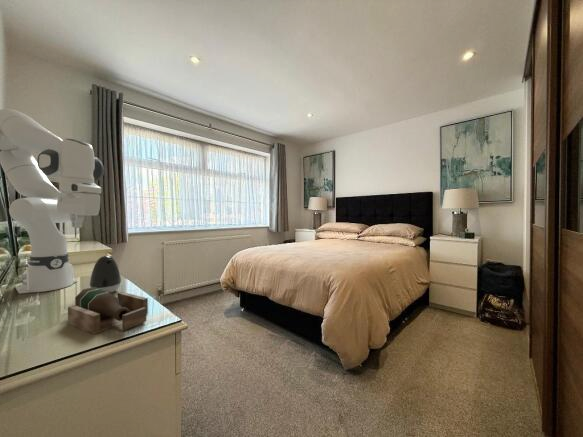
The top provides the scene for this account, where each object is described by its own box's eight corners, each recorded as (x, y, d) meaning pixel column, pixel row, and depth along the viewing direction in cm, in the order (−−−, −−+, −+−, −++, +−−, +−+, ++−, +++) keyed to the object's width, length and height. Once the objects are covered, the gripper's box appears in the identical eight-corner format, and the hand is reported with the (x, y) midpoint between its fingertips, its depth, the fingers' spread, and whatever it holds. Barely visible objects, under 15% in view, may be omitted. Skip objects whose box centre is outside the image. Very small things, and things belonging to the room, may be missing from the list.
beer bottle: (106, 299, 84) (142, 315, 72) (80, 315, 78) (115, 335, 66) (95, 281, 82) (131, 294, 69) (68, 296, 76) (101, 313, 63)
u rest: (68, 323, 71) (67, 306, 70) (122, 306, 84) (122, 291, 84) (106, 340, 62) (106, 320, 62) (160, 317, 75) (160, 301, 75)
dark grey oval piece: (96, 298, 91) (95, 259, 91) (85, 293, 97) (85, 256, 96) (126, 291, 100) (125, 255, 99) (114, 287, 105) (114, 252, 105)
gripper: (50, 186, 83) (50, 225, 84) (81, 186, 75) (81, 230, 75) (73, 188, 89) (72, 225, 90) (104, 188, 81) (103, 229, 81)
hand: (76, 227), depth 82 cm, fingers closed
